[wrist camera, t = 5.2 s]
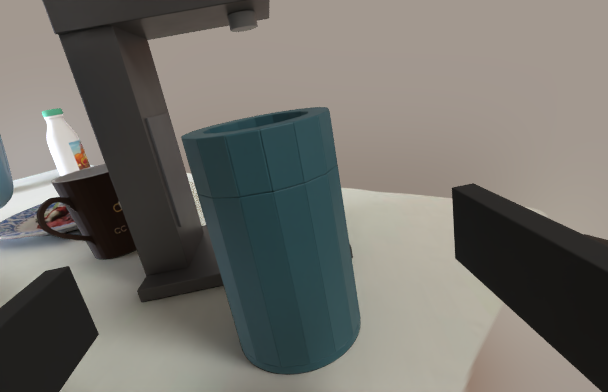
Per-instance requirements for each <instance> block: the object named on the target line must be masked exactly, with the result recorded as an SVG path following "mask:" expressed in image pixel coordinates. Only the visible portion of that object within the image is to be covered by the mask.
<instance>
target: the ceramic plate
mask: <svg viewBox="0 0 608 392" xmlns="http://www.w3.org/2000/svg"><path fill="white" fill-rule="evenodd" d="M40 206H41V204H40V205H37V206H35V207H32V208H30V209H27V210H25V211H23V212H20V213H18V214H15V215H13V216H11V217H9V218H7V219H5V220H4V221H2V222H0V239H16V238H23V237H30V236H46V235H51V234H49V233H47V232H45V231H44V230H42V229H41V227H40V226H39V224H38V221H37V210H38V209H39V207H40ZM44 218H45V222H46V224H47V225H48V226H49V227H50V228H51V229H53V230H56V231H58V232H60V233H64V232H69V231H73V230H77V229H79V228H78V227H77V225H76V223H75V222H74V220H73V218H72V216H71V215H70V213H69V211H68V210H67V208H66V206H65V204H63V203H59V202H55V203H53V204H51V205H50V206H49V207H48V208H47V210H46V211H45V215H44Z"/></svg>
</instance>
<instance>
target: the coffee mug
mask: <svg viewBox="0 0 608 392" xmlns="http://www.w3.org/2000/svg"><path fill="white" fill-rule="evenodd" d="M51 182H52V184H53V186H54V187H55V189H56V191H57V193H58V194H59V196H60V197H56V198H50V199H48V200H46V201H45V202H44V203H42V204H41V206H40V207H39V209H38V210H37V221H38V224H39V226H40V227H41V229H42V230H44V231H45V232H47V233H49V234H51V235H54V236H57V237H60V238H64V239H73V240H84V241H86V242H87V244H88V245H89V247H90V249H91V251H92V252H93V254H94V256H95V257H96V258H97V259H110V258H115V257H119V256H122V255H125V254H128V253H130V252H132V251H135V250H137V249H136V246H135V243H134V240H133V238H132V235H131V232H130V230H129V227H128V224H127V221H126V219H125V216H124V213H123V210H122V208H121V205H120V202H119V199H118V197H117V194H116V191H115V188H114V186H113V183H112V180H111V178H110V175H109V172H108V169H107V167H106V164H103V165H98V166H94V167H90V168H86V169H82V170H79V171H75V172H72V173H69V174H66V175H63V176H60V177H58V178H56V179H54V180H52V181H51ZM55 202H59V203H63V204H65V206H66V208H67V210H68V211H69V213H70V215H71V216H72V218H73V220H74V222H75V223H76V225H77V227H78V228H79V230H80V232H81V234H82V235H83V236H82V235H73V234H65V233H60V232H58V231H56V230H53V229H51V228H50V227H49V226H48V225H47V224H46V222H45V218H44V215H45V211H46V210H47V208H48V207H49V206H50V205H51V204H53V203H55Z"/></svg>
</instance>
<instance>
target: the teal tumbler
mask: <svg viewBox="0 0 608 392" xmlns="http://www.w3.org/2000/svg"><path fill="white" fill-rule="evenodd" d="M182 141H183V145H184V149H185V152H186V156H187V159H188V163H189V166H190V169H191V173H192V177H193V180H194V184H195V187H196V190H197V194H198V197H199V201H200V204H201V208H202V211H203V215H204V218H205V222H206V225H207V229H208V232H209V236H210V239H211V243H212V246H213V250H214V253H215V257H216V260H217V263H218V267H219V270H220V274H221V277H222V281H223V284H224V288H225V291H226V295H227V298H228V302H229V305H230V309H231V312H232V316H233V319H234V323H235V326H236V330H237V333H238V336H239V340H240V343H241V347H242V350H243V352H244V354H245V356H246V357H247V359H248V360H249V361H250V362H251V363H253V364H254V365H256V366H257V367H259V368H261V369H263V370H266V371H269V372H273V373H278V374H298V373H304V372H309V371H312V370H316V369H319V368H321V367H324V366H326V365H328V364H330V363H332V362H333V361H335V360H336V359H338V358H339V357H341V356H342V355H343V354H344V353H345V352H346V351H347V350H348V349H349V348H350V347H351V346H352V344H353V343H354V341H355V340H356V338H357V336H358V333H359V330H360V312H359V306H358V299H357V292H356V286H355V279H354V272H353V265H352V259H351V252H350V245H349V239H348V232H347V225H346V219H345V212H344V205H343V199H342V192H341V185H340V179H339V172H338V165H337V158H336V152H335V146H334V138H333V132H332V125H331V118H330V112H329V109H328V108H325V107H315V108H305V109H296V110H289V111H282V112H276V113H270V114H264V115H259V116H254V117H249V118H244V119H239V120H234V121H231V122H226V123H222V124H217V125H213V126H210V127H206V128H202V129H199V130H196V131H192V132H190V133H188V134H185V135H183V136H182Z"/></svg>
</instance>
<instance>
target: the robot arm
mask: <svg viewBox="0 0 608 392" xmlns="http://www.w3.org/2000/svg"><path fill="white" fill-rule="evenodd" d="M12 194H13V181H12V176H11V172H10V168H9V164H8V160H7V156H6V153H5V149H4V146H3V143H2V139H1V136H0V208H2V207H3V206H5V205H6V204H7V202H8V201H9V200H10V199H11V197H12ZM452 199H453V219H454V240H455V258H456V259H457V260H458V261H459V262H460V263H461V264H462V265H463V266H464V267H466V268H467V269H468V270H469V271H470V272H471V273H472V274H473V275H474V276H475V277H477V278H478V279H479V280H480V281H481V282H482V283H483V284H484V285H485V286H486V287H488V288H489V289H490V290H491V291H492V292H493V293H494V294H495V295H496V296H497V297H499V298H500V299H501V300H502V301H503V302H504V303H505V304H506V305H507V306H509V307H510V308H511V309H512V310H513V311H514V312H515V313H516V314H517V315H518V316H519V317H521V318H522V319H523V320H524V321H525V322H526V323H527V324H528V325H529V326H530V327H531V328H533V329H534V330H535V331H536V332H537V333H538V334H539V335H540V336H541V337H543V338H544V339H545V340H546V341H547V342H548V343H549V344H550V345H551V346H552V347H553V348H555V349H556V350H557V351H558V352H559V353H560V354H561V355H562V356H563V357H564V358H566V359H567V360H568V361H569V362H570V363H571V364H572V365H573V366H574V367H576V368H577V369H578V370H579V371H580V372H581V373H582V374H584V376H585V377H586V378H588V379H589V380H590V381H591V382H592V383H593V384H594V385H595V386H596V387H597V388H599V389H600V390H601V391H602V392H608V240H605V239H601V238H597V237H593V236H590V235H585V234H584V235H583V234H581V233H579V232H576V231H574V230H572V229H570V228H568V227H566V226H563V225H561V224H559V223H557V222H555V221H553V220H551V219H549V218H546V217H544V216H542V215H540V214H538V213H536V212H534V211H531V210H529V209H527V208H525V207H523V206H521V205H518V204H516V203H514V202H512V201H510V200H508V199H505V198H503V197H501V196H499V195H497V194H495V193H493V192H490V191H488V190H486V189H484V188H482V187H480V186H478V185H476V184H469V185H464V186H458V187H454V188H452ZM98 335H99V333H98V331H97V329H96V327H95V324H94V322H93V320H92V318H91V315H90V313H89V311H88V308H87V306H86V304H85V302H84V299H83V297H82V295H81V293H80V290H79V288H78V286H77V283H76V281H75V279H74V277H73V274H72V272H71V270H70V268H69V266H67V267H63V268H58V269H53V270H48V271H45V272H44V273H42V274H41V275H40V276H39V277H38V278H36V279H35V280H34V281H33V282H31V283H30V284H29V285H28V286H27V287H25V288H24V289H23V290H22V291H20V292H19V293H18V294H17V295H16V296H14V297H13V298H12V299H11V300H9V301H8V302H7V303H6V304H5V305H3V306H2V307H1V308H0V392H59V391H60V390H61V388H62V387H63V385H64V384H65V382H66V381H67V380H68V378H69V377H70V375H71V374H72V372H73V371H74V369H75V368H76V366H77V365H78V364H79V362H80V361H81V359H82V358H83V356H84V355H85V353H86V352H87V351H88V349H89V348H90V346H91V345H92V343H93V342H94V340H95V339H96V337H97V336H98Z"/></svg>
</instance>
